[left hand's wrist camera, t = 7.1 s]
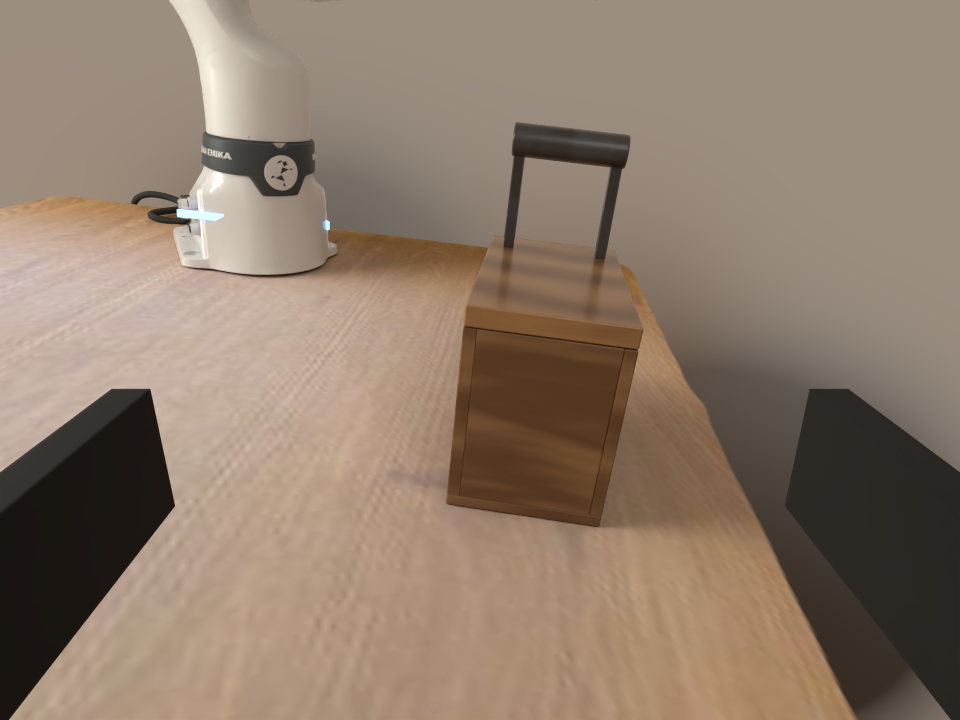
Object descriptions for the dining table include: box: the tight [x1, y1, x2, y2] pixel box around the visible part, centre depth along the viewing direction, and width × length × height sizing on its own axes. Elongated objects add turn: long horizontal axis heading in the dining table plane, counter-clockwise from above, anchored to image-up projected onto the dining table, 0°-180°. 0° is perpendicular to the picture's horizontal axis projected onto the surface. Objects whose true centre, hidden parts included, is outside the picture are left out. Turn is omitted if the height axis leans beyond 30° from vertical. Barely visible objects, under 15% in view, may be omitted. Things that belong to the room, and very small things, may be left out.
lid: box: [464, 122, 643, 349], centre depth 37 cm, size 16×9×9 cm, turn 174°
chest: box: [447, 326, 638, 527], centre depth 41 cm, size 16×9×11 cm, turn 174°
